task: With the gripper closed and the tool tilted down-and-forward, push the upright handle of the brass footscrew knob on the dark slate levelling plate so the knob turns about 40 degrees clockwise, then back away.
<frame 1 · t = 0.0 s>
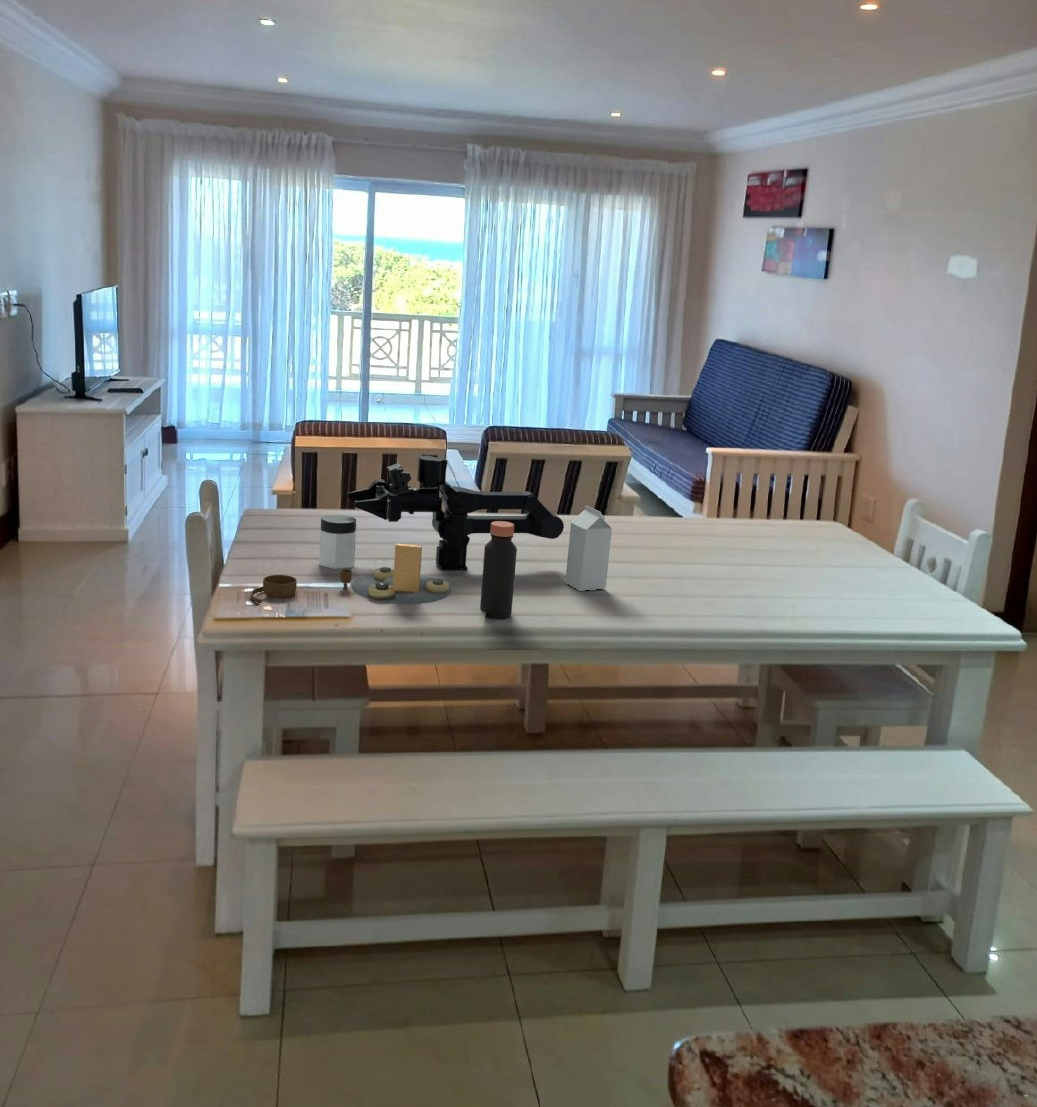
hand: (350, 499, 252), 17 cm above the table, tool horizontal, fingers open, 9 cm apart
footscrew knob: (394, 570, 232), point 7 cm above the table, hinge at 0.0°
bottle: (495, 615, 232), on the table
levelling plate: (401, 593, 241), on the table
jar: (336, 569, 256), on the table
milk carton: (585, 587, 258), on the table
place setting: (298, 603, 231), on the table
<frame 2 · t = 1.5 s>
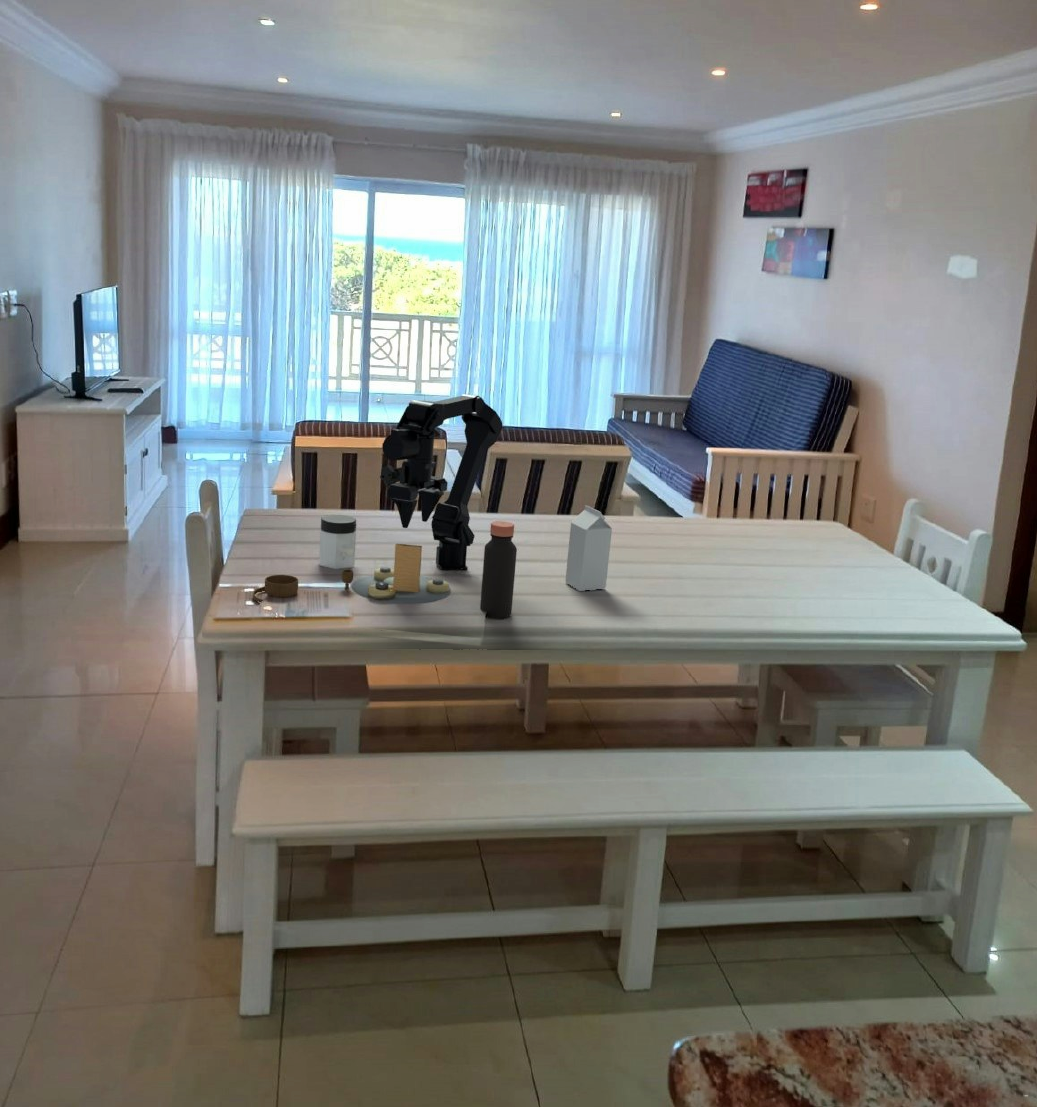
hand: (414, 524, 248), 13 cm above the table, tool pointing down, fingers open, 9 cm apart
nothing on the table moved.
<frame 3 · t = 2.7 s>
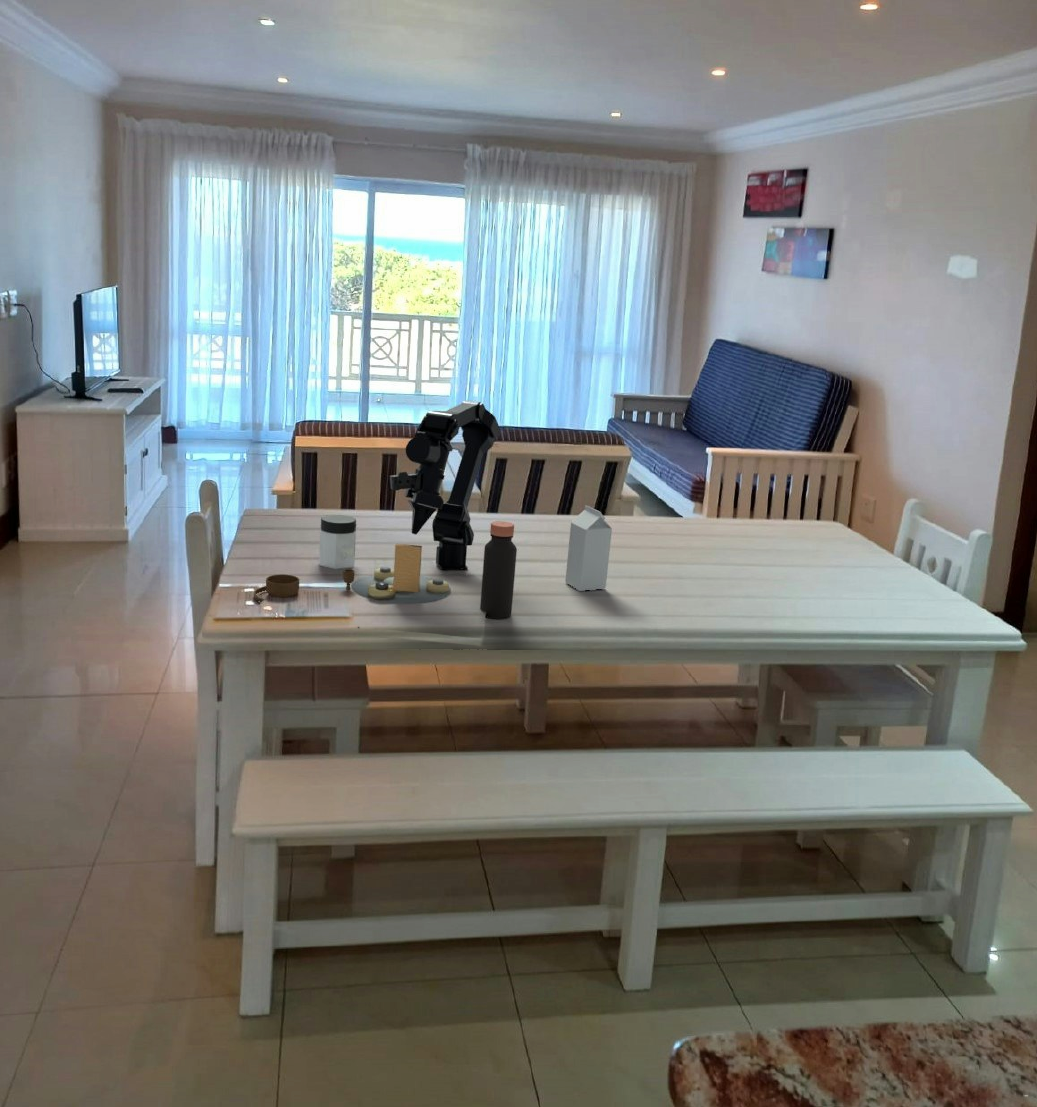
hand: (413, 533, 246), 12 cm above the table, tool tilted 15°, fingers closed
nothing on the table moved.
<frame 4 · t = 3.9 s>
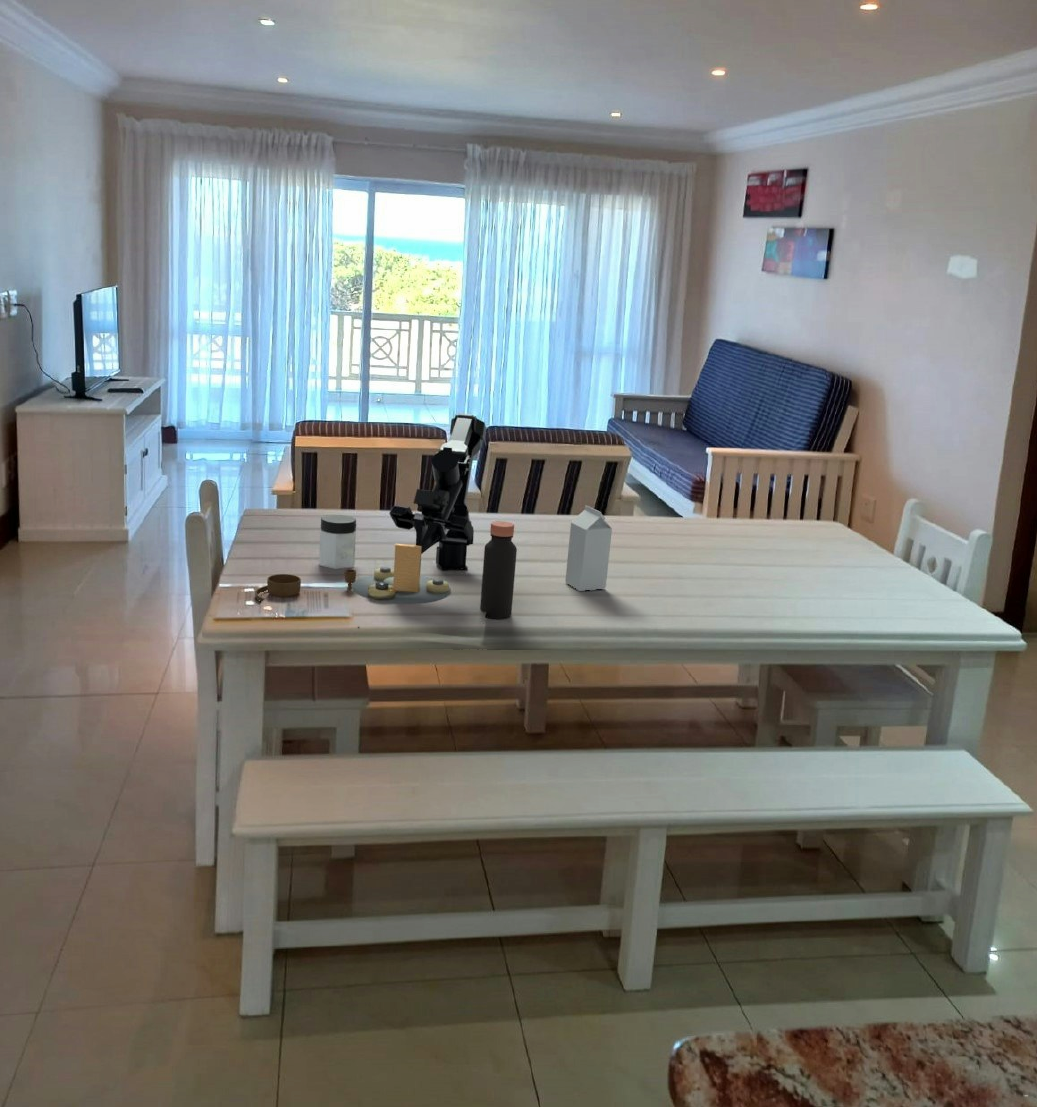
hand: (417, 554, 236), 10 cm above the table, tool tilted 45°, fingers closed
nothing on the table moved.
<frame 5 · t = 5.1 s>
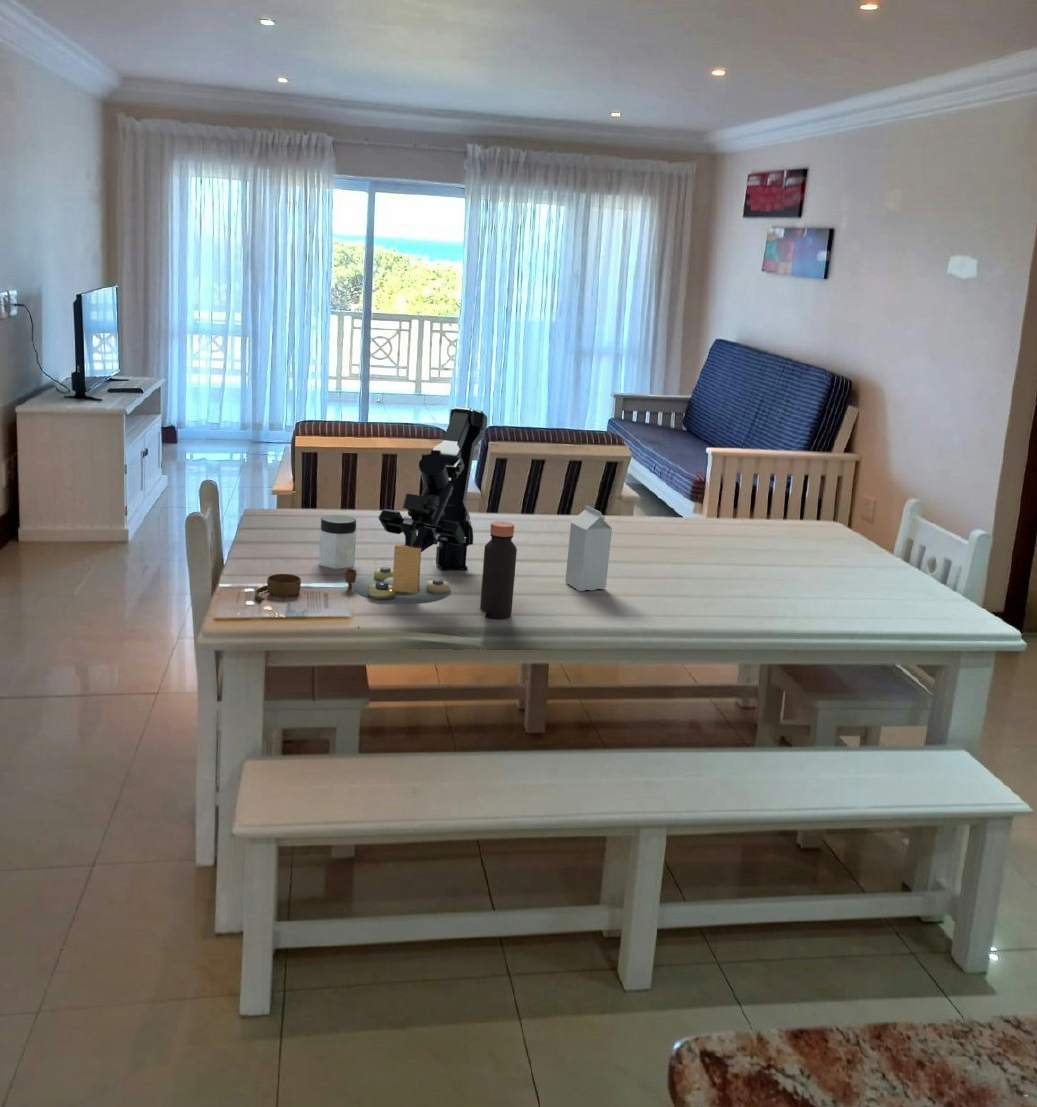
hand: (407, 559, 232), 10 cm above the table, tool tilted 45°, fingers closed, pressing on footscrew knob
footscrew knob: (394, 570, 232), point 7 cm above the table, hinge at -6.9°, touching gripper
everything else where it was.
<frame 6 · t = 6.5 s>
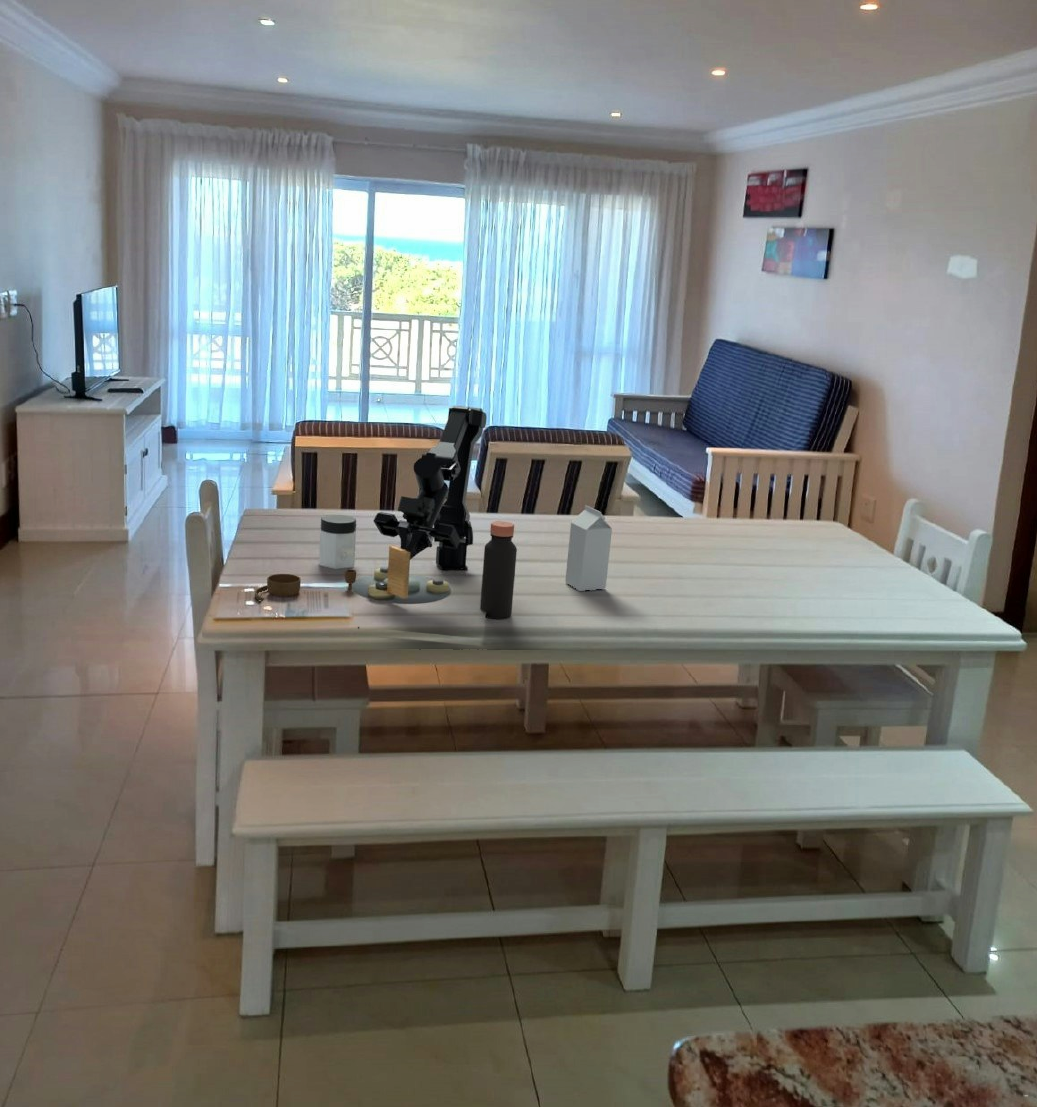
hand: (401, 563, 230), 10 cm above the table, tool tilted 45°, fingers closed
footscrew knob: (390, 572, 231), point 7 cm above the table, hinge at -42.1°
everything else where it was.
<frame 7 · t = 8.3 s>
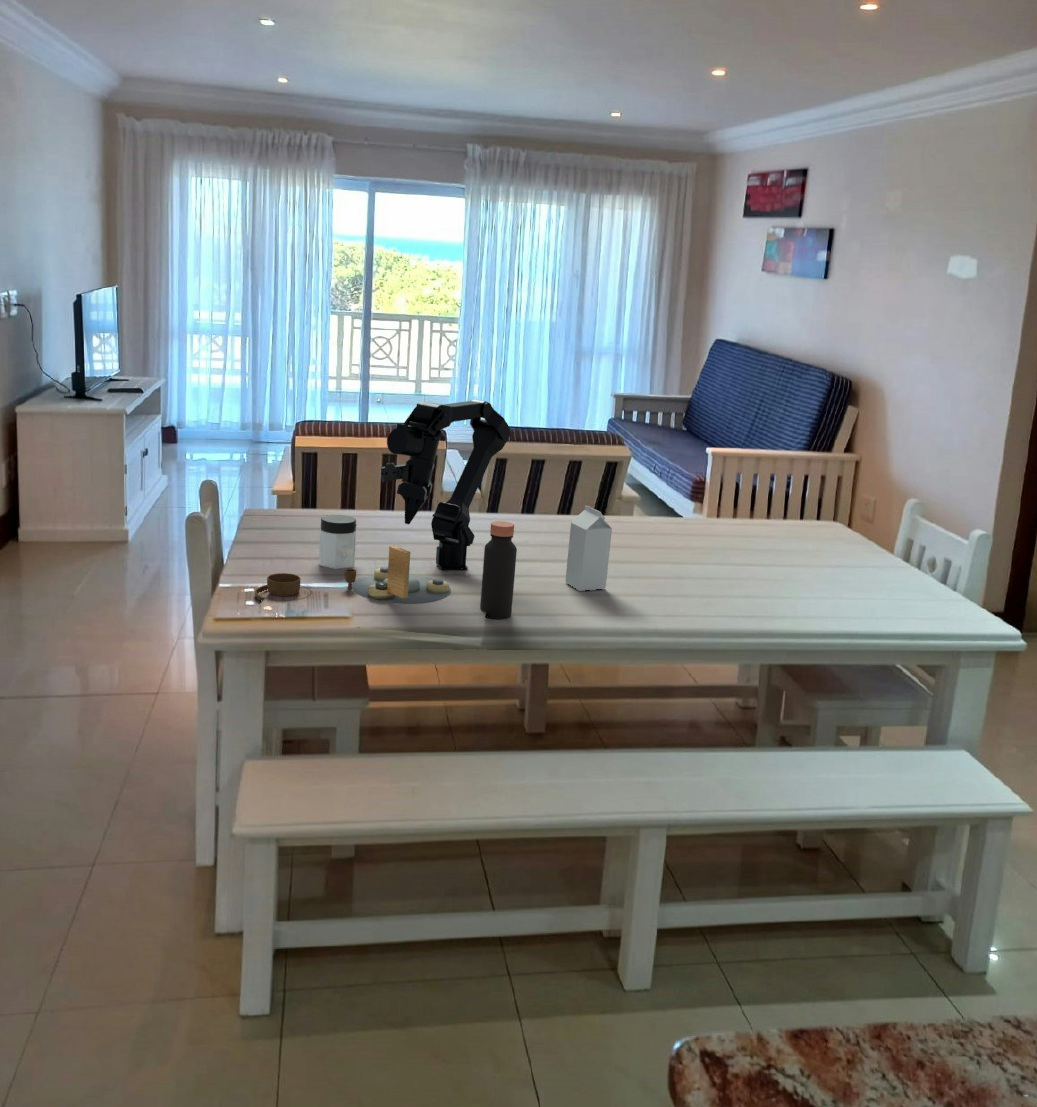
hand: (407, 523, 249), 13 cm above the table, tool pointing down, fingers closed
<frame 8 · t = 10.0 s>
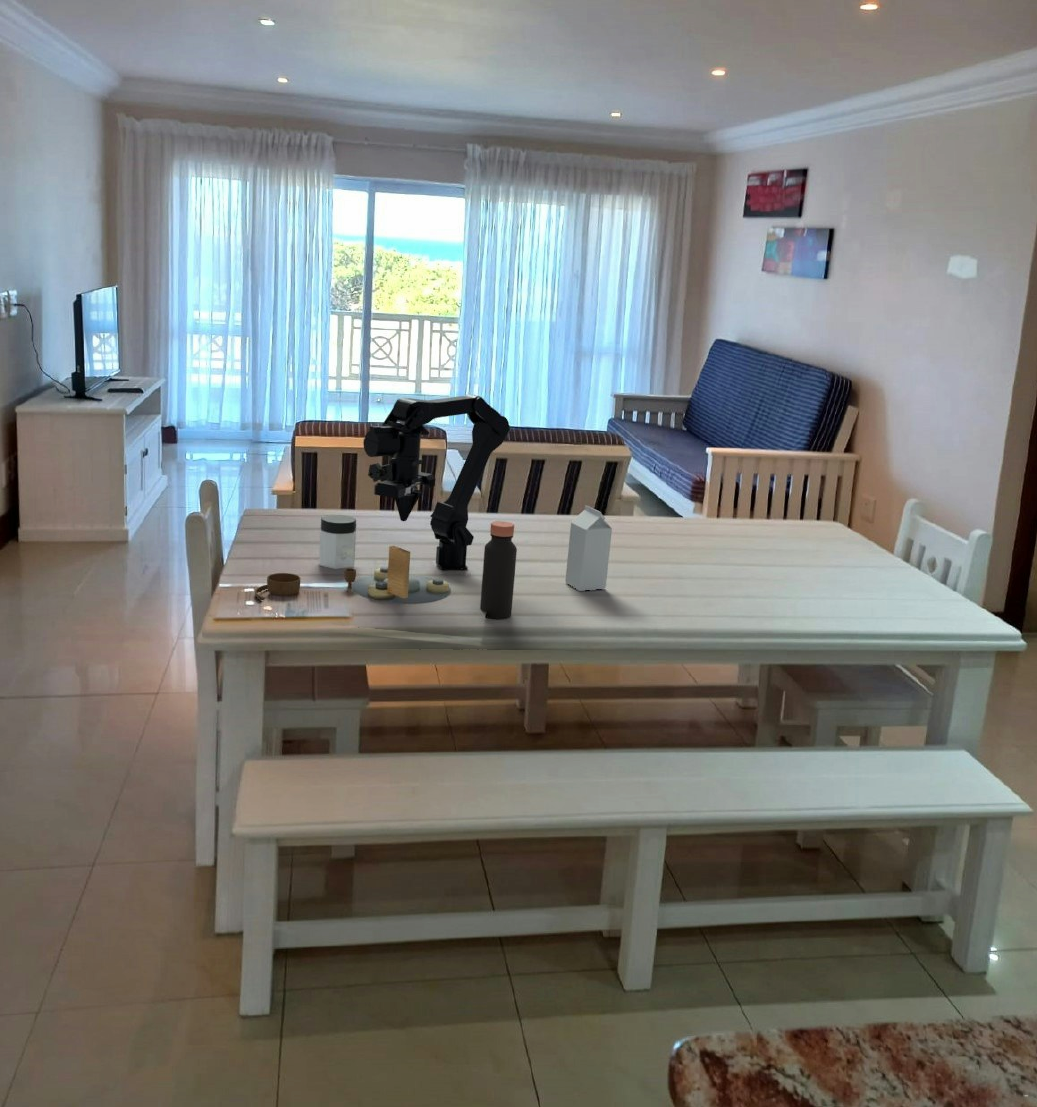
hand: (403, 520, 251), 13 cm above the table, tool pointing down, fingers closed
at the end: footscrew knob at -42° (first picture: +0°); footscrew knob touching nothing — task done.
